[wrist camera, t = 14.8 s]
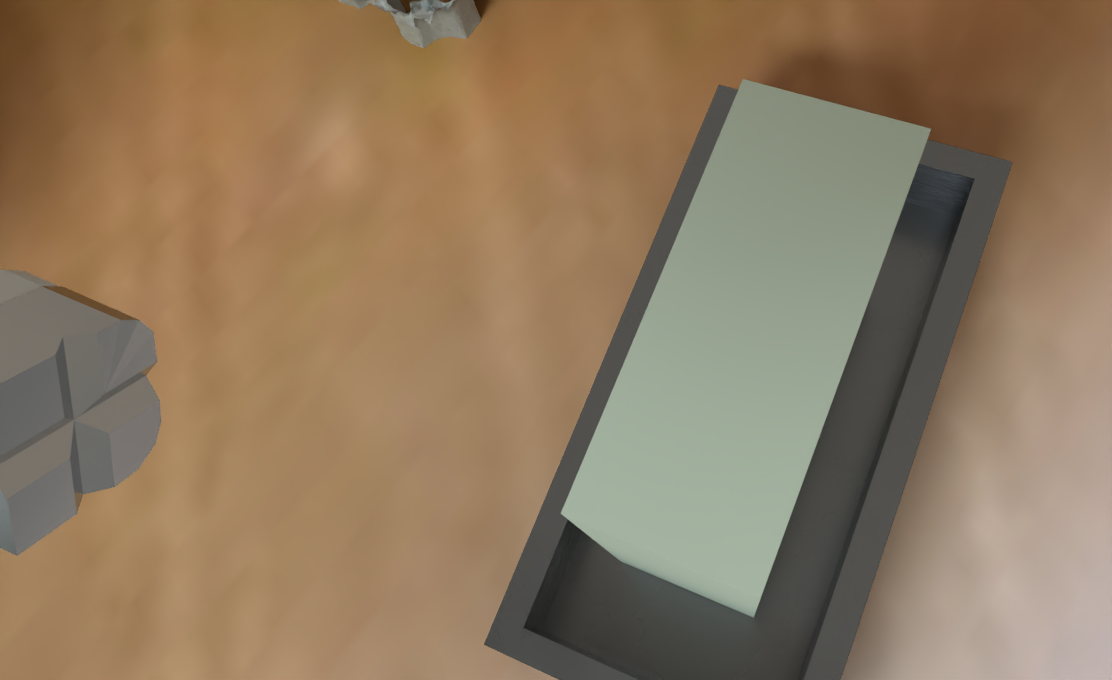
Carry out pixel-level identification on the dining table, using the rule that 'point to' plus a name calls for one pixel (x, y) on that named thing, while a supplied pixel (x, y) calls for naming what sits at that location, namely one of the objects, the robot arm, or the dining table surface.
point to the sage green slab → (745, 343)
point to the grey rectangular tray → (827, 490)
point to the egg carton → (428, 18)
